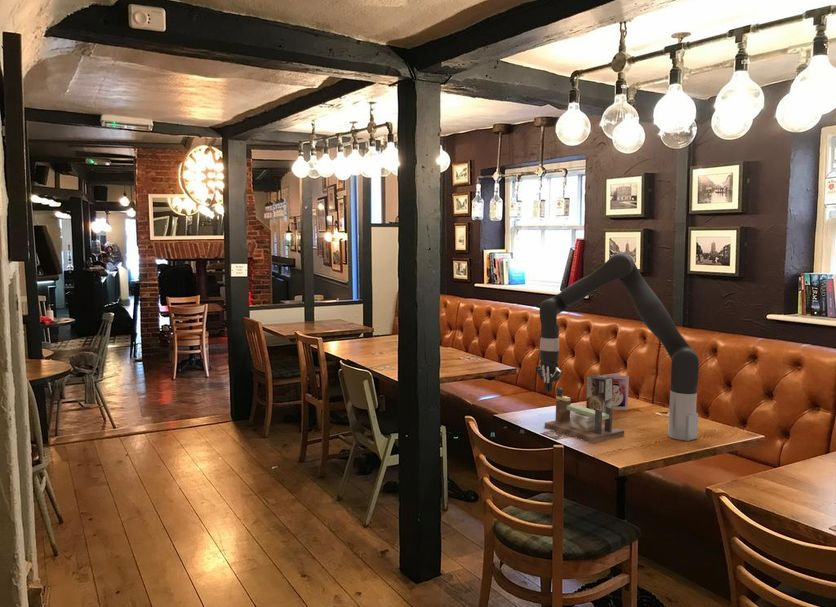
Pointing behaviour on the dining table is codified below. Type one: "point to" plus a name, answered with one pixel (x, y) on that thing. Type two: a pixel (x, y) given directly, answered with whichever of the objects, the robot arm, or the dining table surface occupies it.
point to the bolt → (561, 395)
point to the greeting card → (620, 391)
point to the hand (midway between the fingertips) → (548, 391)
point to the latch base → (576, 432)
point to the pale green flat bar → (585, 411)
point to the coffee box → (599, 392)
